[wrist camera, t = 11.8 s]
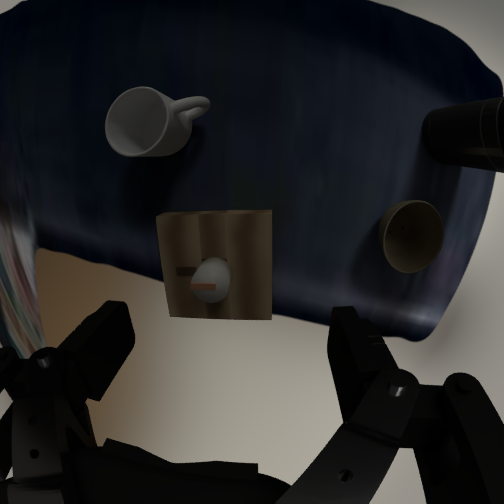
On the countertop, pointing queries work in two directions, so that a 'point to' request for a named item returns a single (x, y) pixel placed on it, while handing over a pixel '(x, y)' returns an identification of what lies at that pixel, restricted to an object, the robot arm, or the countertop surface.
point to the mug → (151, 122)
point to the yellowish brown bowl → (411, 235)
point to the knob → (212, 280)
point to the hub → (222, 246)
